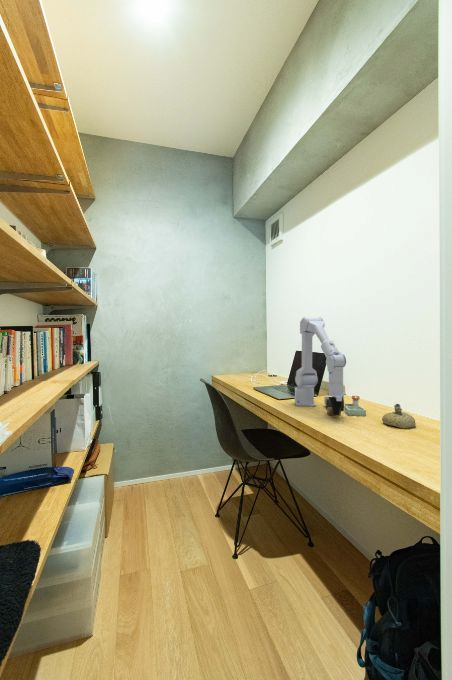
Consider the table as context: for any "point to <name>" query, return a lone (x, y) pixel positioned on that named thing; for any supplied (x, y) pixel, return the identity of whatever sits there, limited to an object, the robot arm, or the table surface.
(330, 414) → the brown rectangular block
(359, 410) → the tray
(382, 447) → the table surface
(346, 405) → the grey square frame
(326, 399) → the cart
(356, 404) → the pin
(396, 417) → the acorn cap
